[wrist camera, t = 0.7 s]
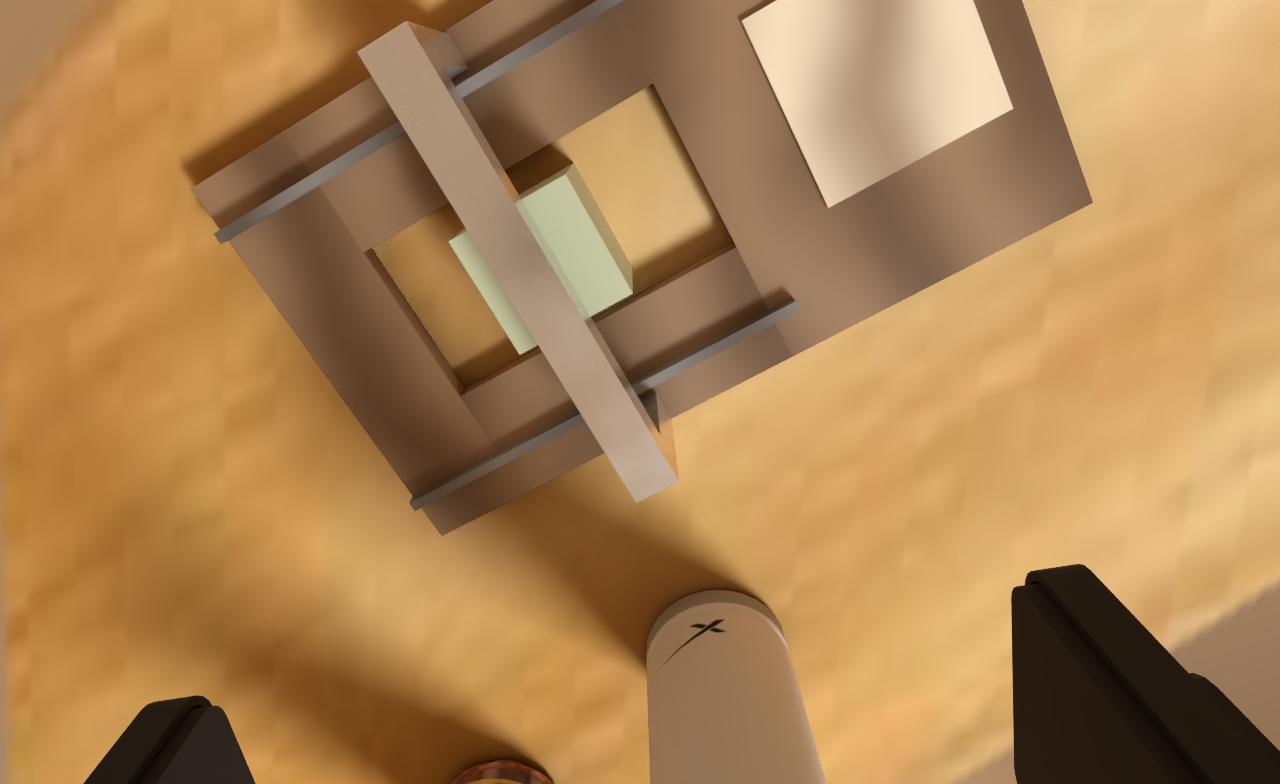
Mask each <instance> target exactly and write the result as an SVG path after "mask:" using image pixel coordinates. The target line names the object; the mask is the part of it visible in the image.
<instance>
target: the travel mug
mask: <svg viewBox="0 0 1280 784" xmlns="http://www.w3.org/2000/svg"><path fill="white" fill-rule="evenodd" d="M646 665H647V695H648V725H649V755H650V784H826V780H825V777H824V773H823V770H822V766H821V763H820V759H819V756H818V752H817V749H816V745H815V742H814V738H813V735H812V731H811V728H810V724H809V721H808V717H807V714H806V710H805V707H804V703H803V700H802V696H801V693H800V689H799V686H798V683H797V679H796V676H795V672H794V669H793V665H792V662H791V658H790V655H789V651H788V648H787V644H786V641H785V637H784V634H783V631H782V628H781V625H780V623H779V622H778V620H777V618H776V617H775V615H774V614H773V613H772V612H771V611H770V610H769V609H768V608H767V607H766V606H765V605H764V604H762V603H761V602H759V601H758V600H756V599H754V598H752V597H750V596H748V595H745V594H742V593H738V592H734V591H730V590H709V591H701V592H698V593H694V594H691V595H688V596H686V597H684V598H682V599H680V600H678V601H676V602H675V603H673V604H672V605H671V606H669V607H668V608H667V609H665V611H664V612H663V613H662V614H661V615H660V616H659V617H658V618H657V620H656V621H655V623H654V624H653V626H652V628H651V630H650V633H649V636H648V639H647V647H646Z"/></svg>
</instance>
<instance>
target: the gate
mask: <svg viewBox="0 0 1280 784" xmlns="http://www.w3.org/2000/svg"><path fill="white" fill-rule="evenodd" d="M357 53H358V55H359V57H360V58H361V60H362V61H363V63H364V65H365V66H366V68H367V69H368V71H369V73H370V74H371V76H372V78H373V79H374V81H375V82H376V84H377V86H378V87H379V89H380V90H381V92H382V94H383V95H384V97H385V98H386V100H387V102H388V103H389V105H390V107H391V108H392V110H393V111H394V113H395V115H396V116H397V118H398V119H399V121H400V123H401V124H402V126H403V128H404V129H405V131H406V132H407V134H408V136H409V137H410V139H411V140H412V142H413V144H414V145H415V147H416V149H417V150H418V152H419V153H420V155H421V157H422V158H423V160H424V161H425V163H426V165H427V166H428V168H429V170H430V171H431V173H432V174H433V176H434V178H435V179H436V181H437V182H438V184H439V186H440V187H441V189H442V191H443V192H444V194H445V195H446V197H447V199H448V200H449V202H450V203H451V205H452V207H453V208H454V210H455V212H456V213H457V215H458V216H459V218H460V220H461V221H462V223H463V224H464V226H465V228H466V229H467V231H468V233H469V234H470V236H471V237H472V239H473V241H474V242H475V244H476V245H477V247H478V249H479V250H480V252H481V254H482V255H483V257H484V258H485V260H486V262H487V263H488V265H489V266H490V268H491V270H492V271H493V273H494V275H495V276H496V278H497V279H498V281H499V283H500V284H501V286H502V287H503V289H504V291H505V292H506V294H507V295H508V297H509V299H510V300H511V302H512V304H513V305H514V307H515V308H516V310H517V312H518V313H519V315H520V316H521V318H522V320H523V321H524V323H525V325H526V326H527V328H528V329H529V331H530V333H531V334H532V336H533V337H534V339H535V341H536V342H537V344H538V346H539V347H540V349H541V350H542V352H543V354H544V355H545V357H546V358H547V360H548V362H549V363H550V365H551V367H552V368H553V370H554V371H555V373H556V375H557V376H558V378H559V379H560V381H561V383H562V384H563V386H564V388H565V389H566V391H567V392H568V394H569V396H570V397H571V399H572V400H573V402H574V404H575V405H576V407H577V409H578V410H579V412H580V413H581V415H582V417H583V418H584V420H585V421H586V423H587V425H588V426H589V428H590V430H591V431H592V433H593V434H594V436H595V438H596V439H597V441H598V442H599V444H600V446H601V447H602V449H603V451H604V452H605V454H606V455H607V457H608V459H609V460H610V462H611V463H612V465H613V467H614V468H615V470H616V472H617V473H618V475H619V476H620V478H621V480H622V481H623V483H624V484H625V486H626V488H627V489H628V491H629V492H630V494H631V496H632V497H633V499H634V501H635V502H636V503H638V502H640V501H642V500H644V499H646V498H648V497H650V496H652V495H654V494H656V493H658V492H660V491H662V490H664V489H666V488H668V487H670V486H672V485H674V484H676V483H678V482H679V475H678V468H677V460H676V453H675V445H674V438H673V430H672V423H671V416H670V414H669V413H668V411H667V409H666V408H665V406H664V404H663V402H662V401H661V399H660V397H659V395H658V394H657V392H656V391H655V392H653V393H651V394H650V395H648V396H646V397H644V398H642V399H640V400H639V398H638V396H637V395H636V393H635V391H634V390H633V388H632V386H631V385H630V383H629V381H628V379H627V378H626V376H625V374H624V373H623V371H622V369H621V368H620V366H619V364H618V362H617V361H616V359H615V357H614V356H613V354H612V352H611V351H610V349H609V347H608V346H607V344H606V342H605V340H604V339H603V337H602V335H601V334H600V332H599V330H598V329H597V327H596V325H595V323H594V322H593V320H592V318H591V317H590V315H589V313H588V312H587V310H586V308H585V306H584V305H583V303H582V301H581V300H580V298H579V296H578V295H577V293H576V291H575V289H574V288H573V286H572V284H571V283H570V281H569V279H568V278H567V276H566V274H565V272H564V271H563V269H562V267H561V266H560V264H559V262H558V261H557V259H556V257H555V255H554V254H553V252H552V250H551V249H550V247H549V245H548V244H547V242H546V240H545V239H544V237H543V235H542V233H541V232H540V230H539V228H538V227H537V225H536V223H535V222H534V220H533V218H532V216H531V215H530V213H529V211H528V210H527V208H526V206H525V205H524V203H523V201H522V199H521V198H520V196H519V194H518V193H517V191H516V189H515V188H514V186H513V184H512V182H511V181H510V179H509V177H508V176H507V174H506V172H505V171H504V169H503V167H502V165H501V164H500V162H499V160H498V159H497V157H496V155H495V154H494V152H493V150H492V148H491V147H490V145H489V143H488V142H487V140H486V138H485V137H484V135H483V133H482V132H481V130H480V128H479V126H478V125H477V123H476V121H475V120H474V118H473V116H472V115H471V113H470V111H469V109H468V108H467V106H466V104H465V103H464V101H463V99H462V98H461V96H460V94H459V92H458V91H457V89H456V87H455V86H454V84H453V82H452V81H451V79H452V78H453V77H455V76H457V75H458V74H460V73H462V72H463V71H465V70H467V69H468V68H469V67H468V66H467V64H466V62H465V60H464V59H463V57H462V55H461V53H460V52H459V50H458V48H457V47H456V45H455V43H454V41H453V40H452V38H451V36H450V34H448V33H445V32H441V31H438V30H435V29H431V28H428V27H425V26H422V25H418V24H415V23H412V22H409V21H405V22H403V23H402V24H400V25H399V26H397V27H395V28H394V29H392V30H391V31H389V32H388V33H386V34H384V35H383V36H381V37H380V38H378V39H376V40H375V41H373V42H372V43H370V44H368V45H367V46H365V47H364V48H362V49H361V50H359V51H357Z"/></svg>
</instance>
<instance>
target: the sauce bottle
mask: <svg viewBox="0 0 1280 784" xmlns="http://www.w3.org/2000/svg"><path fill="white" fill-rule="evenodd" d="M452 784H553V782H552V780H550V779H548V778H547V777H546V776H545V775H544V774H542V773H540V772H538V771H537V770H535V769H533V768H531V767H529V766H525V765H523V764H522V763H520V762H516V761H513V760H502V759H501V760H498V761H494V762H491V763H483V764H480V765H475V766H473V767H471V768H469V769H467V770H465V771H464V772H463V773H461V774H460V775H459V776H458V777H457V778H456V779H455V780H454V781H453V783H452Z"/></svg>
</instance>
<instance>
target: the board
mask: <svg viewBox="0 0 1280 784" xmlns="http://www.w3.org/2000/svg"><path fill="white" fill-rule="evenodd" d="M443 32H445V33H448V34H450V36H451V38H452V40H453V41H454V43H455V45H456V47H457V48H458V50H459V52H460V53H461V55H462V57H463V59H464V60H465V62H466V64H467V66H468V67H469V68H468V69H467V70H465V71H463V72H462V73H460V74H458V75H457V76H455V77H453V78H452V79H451V81H452V82H453V84H454V86H455V87H456V89H457V91H458V92H459V94H460V96H461V98H462V99H463V101H464V103H465V104H466V106H467V108H468V109H469V111H470V113H471V115H472V116H473V118H474V120H475V121H476V123H477V125H478V126H479V128H480V130H481V132H482V133H483V135H484V137H485V138H486V140H487V142H488V143H489V145H490V147H491V148H492V150H493V152H494V154H495V155H496V157H497V159H498V160H499V162H500V164H501V165H502V167H503V169H504V170H506V169H507V168H509V167H511V166H512V165H514V164H516V163H518V162H519V161H521V160H523V159H524V158H526V157H528V156H530V155H531V154H533V153H535V152H536V151H538V150H540V149H542V148H543V147H545V146H547V145H548V144H550V143H552V142H554V141H555V140H557V139H559V138H560V137H562V136H564V135H566V134H567V133H569V132H571V131H572V130H574V129H576V128H577V127H579V126H581V125H583V124H584V123H586V122H588V121H589V120H591V119H593V118H595V117H596V116H598V115H600V114H601V113H603V112H605V111H607V110H608V109H610V108H612V107H613V106H615V105H617V104H619V103H620V102H622V101H624V100H625V99H627V98H629V97H631V96H632V95H634V94H636V93H637V92H639V91H641V90H643V89H644V88H646V87H648V86H649V85H651V84H653V86H654V88H655V90H656V92H657V93H658V95H659V97H660V99H661V101H662V103H663V105H664V107H665V109H666V111H667V113H668V115H669V117H670V119H671V121H672V123H673V125H674V127H675V129H676V131H677V133H678V135H679V137H680V139H681V141H682V143H683V144H684V146H685V148H686V150H687V152H688V154H689V156H690V158H691V160H692V162H693V164H694V166H695V168H696V170H697V172H698V174H699V176H700V178H701V180H702V182H703V184H704V186H705V188H706V190H707V192H708V194H709V195H710V197H711V199H712V201H713V203H714V205H715V207H716V209H717V211H718V213H719V215H720V217H721V219H722V221H723V223H724V225H725V227H726V229H727V231H728V233H729V235H730V237H731V239H732V241H733V243H731V244H729V245H727V246H725V247H724V248H722V249H720V250H718V251H716V252H714V253H713V254H711V255H709V256H707V257H705V258H703V259H701V260H700V261H698V262H696V263H694V264H692V265H690V266H689V267H687V268H685V269H683V270H681V271H679V272H677V273H676V274H674V275H672V276H670V277H668V278H666V279H665V280H663V281H661V282H659V283H657V284H655V285H653V286H652V287H650V288H648V289H646V290H644V291H642V292H641V293H639V294H637V295H635V296H633V297H631V298H629V299H628V300H626V301H624V302H622V303H620V304H618V305H617V306H615V307H613V308H611V309H609V310H607V311H605V312H604V313H602V314H600V315H598V316H596V317H594V318H593V319H592V320H593V322H594V323H595V325H596V327H597V329H598V330H599V332H600V334H601V335H602V337H603V339H604V340H605V342H606V344H607V346H608V347H609V349H610V351H611V352H612V354H613V356H614V357H615V359H616V361H617V362H618V364H619V366H620V368H621V369H622V371H623V373H624V374H625V376H626V378H627V379H628V381H629V383H630V385H631V386H632V388H633V390H634V391H635V393H636V395H637V396H638V398H639V400H640V399H642V398H644V397H646V396H648V395H650V394H651V393H653V392H655V391H656V392H657V394H658V395H659V397H660V399H661V401H662V402H663V404H664V406H665V408H666V409H667V411H668V413H669V414H670V416H671V418H673V417H675V416H677V415H679V414H681V413H683V412H685V411H687V410H689V409H691V408H693V407H695V406H697V405H699V404H701V403H703V402H705V401H706V400H708V399H710V398H712V397H714V396H716V395H718V394H720V393H722V392H724V391H726V390H728V389H730V388H732V387H734V386H736V385H738V384H740V383H742V382H744V381H746V380H747V379H749V378H751V377H753V376H755V375H757V374H759V373H761V372H763V371H765V370H767V369H769V368H771V367H773V366H775V365H777V364H779V363H781V362H783V361H785V360H787V359H789V358H790V357H792V356H794V355H796V354H798V353H800V352H802V351H804V350H806V349H808V348H810V347H812V346H814V345H816V344H818V343H820V342H822V341H824V340H826V339H828V338H830V337H831V336H833V335H835V334H837V333H839V332H841V331H843V330H845V329H847V328H849V327H851V326H853V325H855V324H857V323H859V322H861V321H863V320H865V319H867V318H869V317H871V316H873V315H874V314H876V313H878V312H880V311H882V310H884V309H886V308H888V307H890V306H892V305H894V304H896V303H898V302H900V301H902V300H904V299H906V298H908V297H910V296H912V295H914V294H915V293H917V292H919V291H921V290H923V289H925V288H927V287H929V286H931V285H933V284H935V283H937V282H939V281H941V280H943V279H945V278H947V277H949V276H951V275H953V274H955V273H957V272H958V271H960V270H962V269H964V268H966V267H968V266H970V265H972V264H974V263H976V262H978V261H980V260H982V259H984V258H986V257H988V256H990V255H992V254H994V253H996V252H998V251H999V250H1001V249H1003V248H1005V247H1007V246H1009V245H1011V244H1013V243H1015V242H1017V241H1019V240H1021V239H1023V238H1025V237H1027V236H1029V235H1031V234H1033V233H1035V232H1037V231H1039V230H1041V229H1042V228H1044V227H1046V226H1048V225H1050V224H1052V223H1054V222H1056V221H1058V220H1060V219H1062V218H1064V217H1066V216H1068V215H1070V214H1072V213H1074V212H1076V211H1078V210H1080V209H1082V208H1083V207H1085V206H1087V205H1089V204H1091V203H1093V201H1092V199H1091V196H1090V193H1089V190H1088V187H1087V184H1086V181H1085V179H1084V176H1083V173H1082V170H1081V167H1080V164H1079V162H1078V159H1077V156H1076V153H1075V150H1074V147H1073V145H1072V142H1071V139H1070V136H1069V133H1068V130H1067V127H1066V125H1065V122H1064V119H1063V116H1062V113H1061V110H1060V108H1059V105H1058V102H1057V99H1056V96H1055V93H1054V91H1053V88H1052V85H1051V82H1050V79H1049V76H1048V73H1047V71H1046V68H1045V65H1044V62H1043V59H1042V56H1041V54H1040V51H1039V48H1038V45H1037V42H1036V39H1035V36H1034V34H1033V31H1032V28H1031V25H1030V22H1029V19H1028V17H1027V14H1026V11H1025V8H1024V5H1023V2H1022V0H493V1H491V2H490V3H488V4H487V5H485V6H483V7H482V8H480V9H479V10H477V11H475V12H474V13H472V14H471V15H469V16H467V17H466V18H464V19H463V20H461V21H459V22H458V23H456V24H454V25H453V26H451V27H450V28H448V29H446V30H445V31H443ZM191 190H192V191H193V192H194V194H195V195H196V197H197V198H198V199H199V201H200V202H201V203H202V205H203V206H204V208H205V209H206V210H207V212H208V213H209V215H210V216H211V217H212V219H213V220H214V221H215V223H216V224H217V226H218V227H219V228H220V230H219V231H217V232H216V233H214V235H215V236H216V238H217V239H218V240H219V242H220V243H224V242H227V241H229V242H230V244H231V245H232V246H233V248H234V249H235V250H236V252H237V253H238V255H239V256H240V257H241V259H242V260H243V262H244V263H245V264H246V266H247V267H248V268H249V270H250V271H251V273H252V274H253V275H254V277H255V278H256V280H257V281H258V282H259V284H260V285H261V286H262V288H263V289H264V291H265V292H266V293H267V295H268V296H269V298H270V299H271V300H272V302H273V303H274V304H275V306H276V307H277V309H278V310H279V311H280V313H281V314H282V316H283V317H284V318H285V320H286V321H287V322H288V324H289V325H290V327H291V328H292V329H293V331H294V332H295V333H296V335H297V336H298V338H299V339H300V340H301V342H302V343H303V345H304V346H305V347H306V349H307V350H308V351H309V353H310V354H311V356H312V357H313V358H314V360H315V361H316V363H317V364H318V365H319V367H320V368H321V369H322V371H323V372H324V374H325V375H326V376H327V378H328V379H329V381H330V382H331V383H332V385H333V386H334V387H335V389H336V390H337V392H338V393H339V394H340V396H341V397H342V399H343V400H344V401H345V403H346V404H347V405H348V407H349V408H350V410H351V411H352V412H353V414H354V415H355V416H356V418H357V419H358V421H359V422H360V423H361V425H362V426H363V428H364V429H365V430H366V432H367V433H368V434H369V436H370V437H371V439H372V440H373V441H374V443H375V444H376V446H377V447H378V448H379V450H380V451H381V452H382V454H383V455H384V457H385V458H386V459H387V461H388V462H389V464H390V465H391V466H392V468H393V469H394V470H395V472H396V473H397V475H398V476H399V477H400V479H401V480H402V482H403V483H404V484H405V486H406V487H407V488H408V490H409V491H410V493H411V494H412V495H413V497H412V499H411V501H410V505H411V506H412V507H413V509H414V510H415V511H416V510H418V509H420V508H422V509H423V511H424V512H425V513H426V515H427V516H428V517H429V519H430V520H431V522H432V523H433V524H434V526H435V527H436V529H437V530H438V531H439V533H440V534H441V535H442V536H443V535H445V534H447V533H449V532H451V531H453V530H454V529H456V528H458V527H460V526H462V525H464V524H466V523H468V522H470V521H472V520H474V519H476V518H478V517H480V516H482V515H484V514H486V513H488V512H490V511H492V510H494V509H495V508H497V507H499V506H501V505H503V504H505V503H507V502H509V501H511V500H513V499H515V498H517V497H519V496H521V495H523V494H525V493H527V492H529V491H531V490H533V489H535V488H537V487H538V486H540V485H542V484H544V483H546V482H548V481H550V480H552V479H554V478H556V477H558V476H560V475H562V474H564V473H566V472H568V471H570V470H572V469H574V468H576V467H578V466H579V465H581V464H583V463H585V462H587V461H589V460H591V459H593V458H595V457H597V456H599V455H601V454H603V453H605V452H604V451H603V449H602V447H601V446H600V444H599V442H598V441H597V439H596V438H595V436H594V434H593V433H592V431H591V430H590V428H589V426H588V425H587V423H586V421H585V420H584V418H583V417H582V415H581V413H580V412H579V410H578V409H577V407H576V405H575V404H574V402H573V400H572V399H571V397H570V396H569V394H568V392H567V391H566V389H565V388H564V386H563V384H562V383H561V381H560V379H559V378H558V376H557V375H556V373H555V371H554V370H553V368H552V367H551V365H550V363H549V362H548V360H547V358H546V357H545V355H544V354H543V352H542V350H541V349H540V347H539V348H537V349H535V350H533V351H532V352H530V353H528V354H526V355H524V356H522V357H521V358H519V359H517V360H515V361H513V362H511V363H509V364H508V365H506V366H504V367H502V368H500V369H498V370H497V371H495V372H493V373H491V374H489V375H487V376H486V377H484V378H482V379H480V380H478V381H476V382H474V383H473V384H471V385H469V386H467V387H465V388H464V386H463V385H462V383H461V382H460V380H459V379H458V377H457V376H456V374H455V373H454V371H453V370H452V368H451V367H450V365H449V364H448V362H447V361H446V359H445V358H444V356H443V355H442V353H441V352H440V350H439V349H438V347H437V346H436V344H435V343H434V341H433V340H432V338H431V337H430V335H429V334H428V332H427V331H426V329H425V328H424V326H423V325H422V323H421V322H420V320H419V319H418V317H417V316H416V314H415V312H414V311H413V309H412V308H411V306H410V305H409V303H408V302H407V300H406V299H405V297H404V296H403V294H402V293H401V291H400V290H399V288H398V287H397V285H396V284H395V282H394V281H393V279H392V278H391V276H390V275H389V273H388V272H387V270H386V269H385V267H384V266H383V264H382V263H381V261H380V260H379V258H378V257H377V255H376V254H375V252H374V251H373V249H372V247H374V246H376V245H377V244H379V243H381V242H382V241H384V240H386V239H388V238H389V237H391V236H393V235H394V234H396V233H398V232H399V231H401V230H403V229H405V228H406V227H408V226H410V225H411V224H413V223H415V222H417V221H418V220H420V219H422V218H423V217H425V216H427V215H429V214H430V213H432V212H434V211H435V210H437V209H439V208H441V207H442V206H444V205H446V204H447V203H449V200H448V199H447V197H446V195H445V194H444V192H443V191H442V189H441V187H440V186H439V184H438V182H437V181H436V179H435V178H434V176H433V174H432V173H431V171H430V170H429V168H428V166H427V165H426V163H425V161H424V160H423V158H422V157H421V155H420V153H419V152H418V150H417V149H416V147H415V145H414V144H413V142H412V140H411V139H410V137H409V136H408V134H407V132H406V131H405V129H404V128H403V126H402V124H401V123H400V121H399V119H398V118H397V116H396V115H395V113H394V111H393V110H392V108H391V107H390V105H389V103H388V102H387V100H386V98H385V97H384V95H383V94H382V92H381V90H380V89H379V87H378V86H377V84H376V82H375V81H374V79H373V78H372V76H371V77H369V78H368V79H366V80H365V81H363V82H361V83H360V84H358V85H357V86H355V87H353V88H352V89H350V90H348V91H347V92H345V93H344V94H342V95H340V96H339V97H337V98H336V99H334V100H332V101H331V102H329V103H328V104H326V105H324V106H323V107H321V108H320V109H318V110H316V111H315V112H313V113H312V114H310V115H308V116H307V117H305V118H304V119H302V120H300V121H299V122H297V123H295V124H294V125H292V126H291V127H289V128H287V129H286V130H284V131H283V132H281V133H279V134H278V135H276V136H275V137H273V138H271V139H270V140H268V141H267V142H265V143H263V144H262V145H260V146H259V147H257V148H255V149H254V150H252V151H251V152H249V153H247V154H246V155H244V156H242V157H241V158H239V159H238V160H236V161H234V162H233V163H231V164H230V165H228V166H226V167H225V168H223V169H222V170H220V171H218V172H217V173H215V174H214V175H212V176H210V177H209V178H207V179H206V180H204V181H202V182H201V183H199V184H198V185H196V186H194V187H193V188H191Z"/></svg>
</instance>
